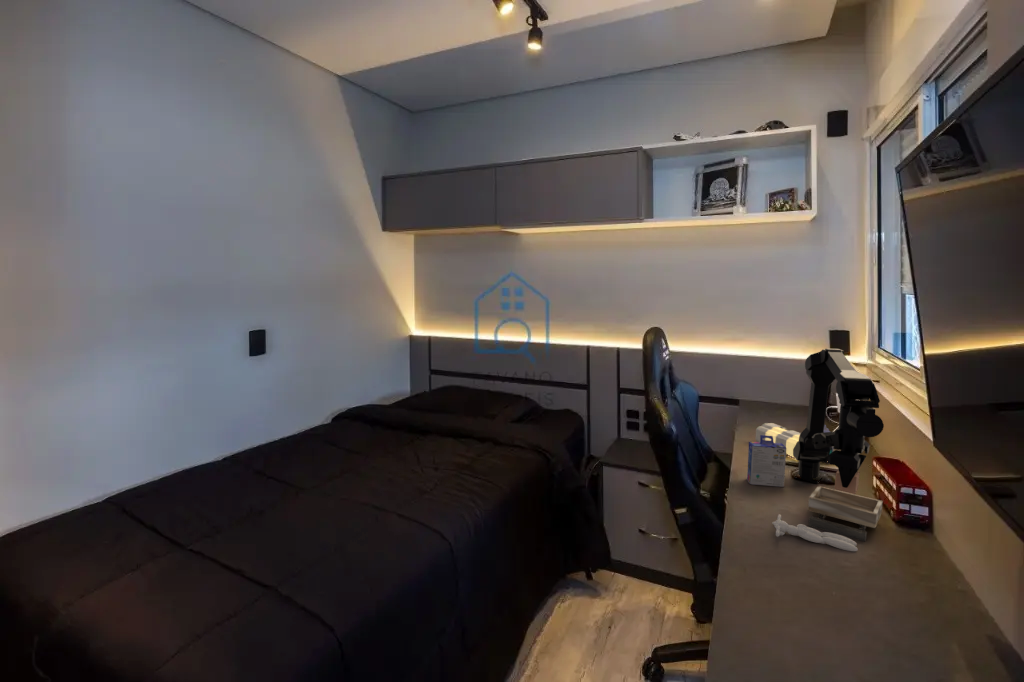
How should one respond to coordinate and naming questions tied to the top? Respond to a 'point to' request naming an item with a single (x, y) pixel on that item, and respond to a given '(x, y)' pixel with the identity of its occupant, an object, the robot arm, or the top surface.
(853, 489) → the block
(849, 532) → the framed panel
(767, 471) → the ink cartridge box
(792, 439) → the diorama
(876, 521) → the beige open rectangular box
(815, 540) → the decorative figure
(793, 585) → the top surface
